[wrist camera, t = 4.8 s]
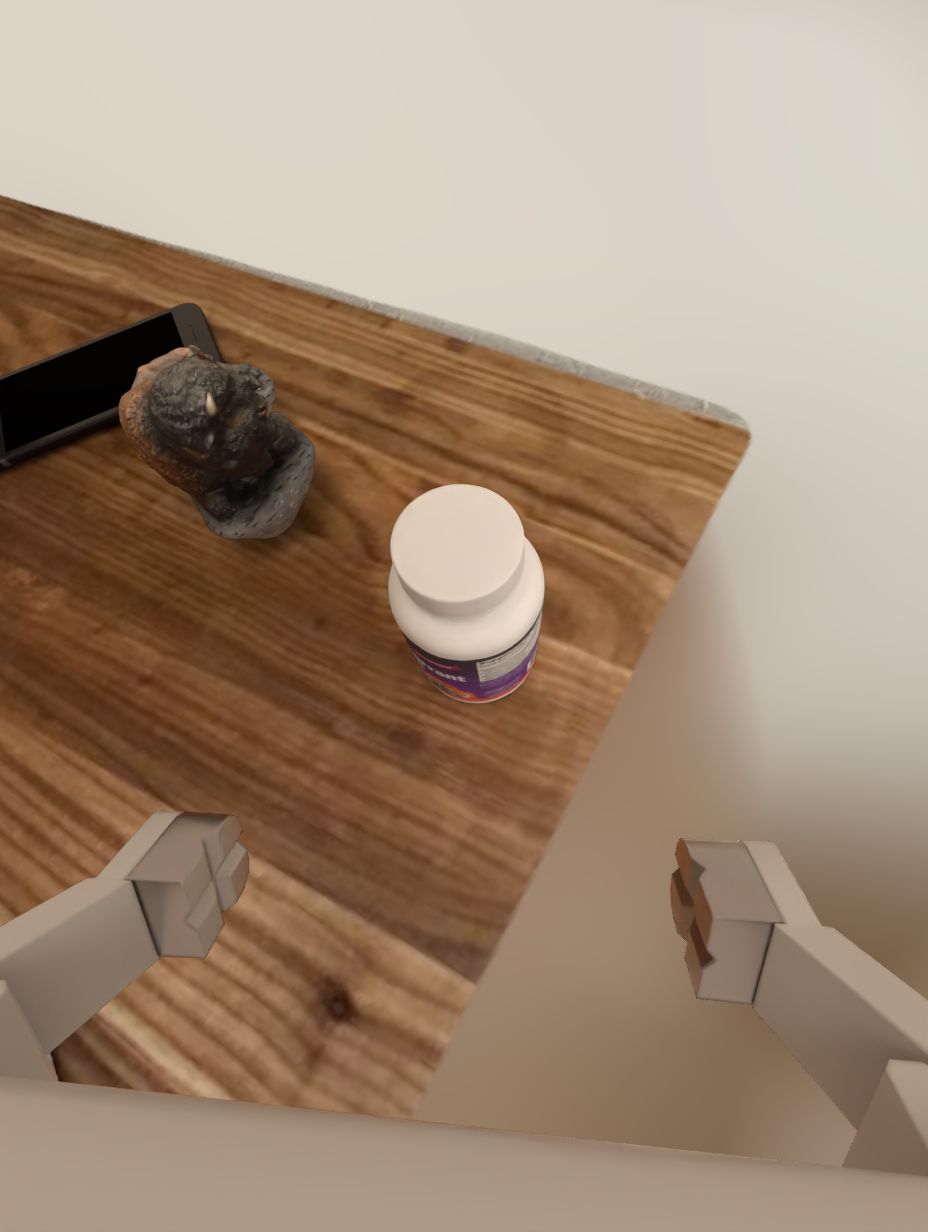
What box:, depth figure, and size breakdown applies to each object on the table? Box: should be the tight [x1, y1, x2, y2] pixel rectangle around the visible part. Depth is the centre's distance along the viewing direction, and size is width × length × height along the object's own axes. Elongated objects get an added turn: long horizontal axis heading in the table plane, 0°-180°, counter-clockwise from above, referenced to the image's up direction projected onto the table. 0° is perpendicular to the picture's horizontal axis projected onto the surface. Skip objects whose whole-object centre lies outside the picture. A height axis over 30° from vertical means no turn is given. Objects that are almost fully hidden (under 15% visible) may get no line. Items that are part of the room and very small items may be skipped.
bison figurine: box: [119, 345, 315, 539], centre depth 25 cm, size 12×7×10 cm, turn 36°
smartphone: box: [0, 303, 224, 469], centre depth 33 cm, size 7×15×1 cm, turn 116°
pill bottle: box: [388, 484, 544, 703], centre depth 20 cm, size 5×5×10 cm
